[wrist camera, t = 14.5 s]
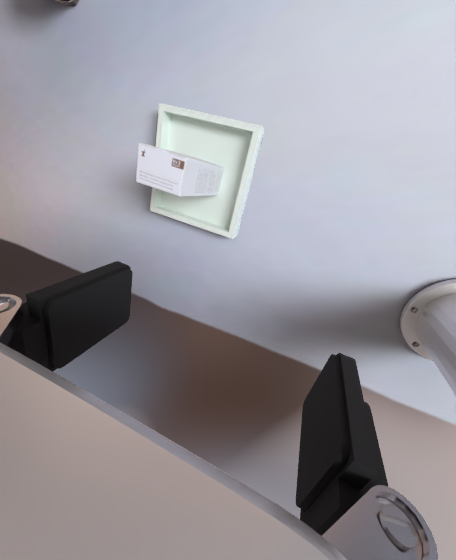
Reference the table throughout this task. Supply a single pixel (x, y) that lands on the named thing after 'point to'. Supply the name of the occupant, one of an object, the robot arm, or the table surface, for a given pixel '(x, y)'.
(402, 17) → the table surface
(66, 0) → the lighter
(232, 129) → the sage tray
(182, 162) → the skincare box
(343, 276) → the table surface
